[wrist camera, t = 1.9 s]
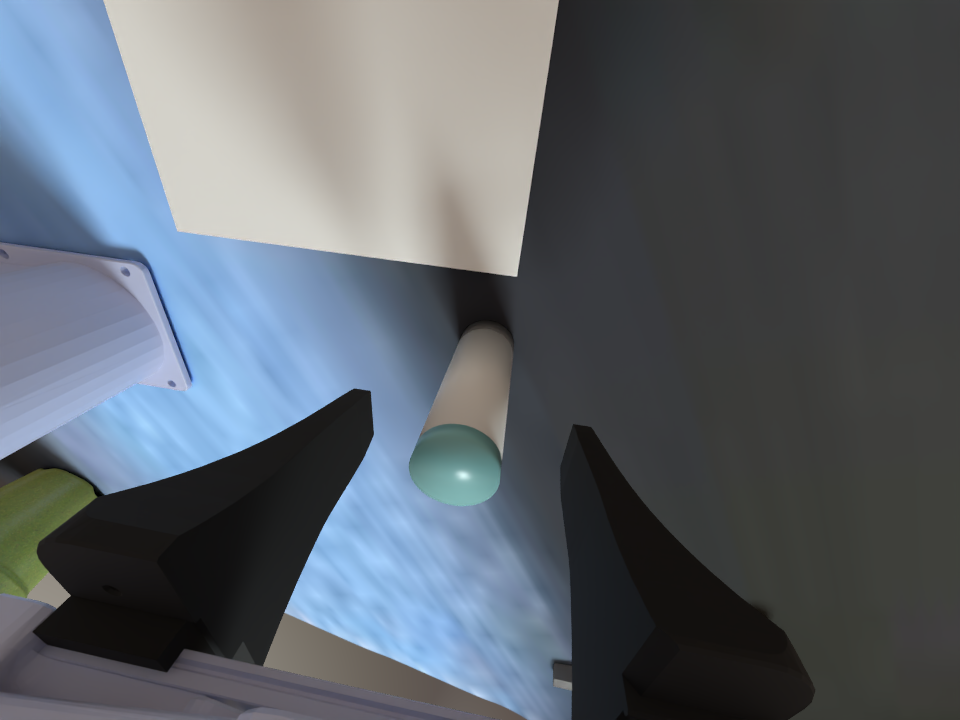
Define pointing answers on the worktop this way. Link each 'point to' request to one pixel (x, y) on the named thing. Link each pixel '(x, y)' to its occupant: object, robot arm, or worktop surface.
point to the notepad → (345, 121)
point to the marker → (467, 420)
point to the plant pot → (34, 522)
